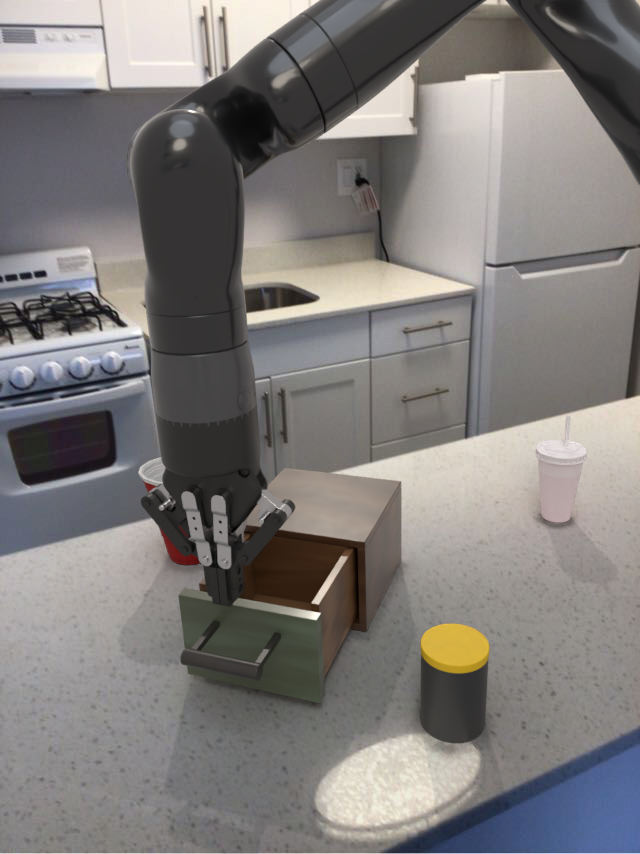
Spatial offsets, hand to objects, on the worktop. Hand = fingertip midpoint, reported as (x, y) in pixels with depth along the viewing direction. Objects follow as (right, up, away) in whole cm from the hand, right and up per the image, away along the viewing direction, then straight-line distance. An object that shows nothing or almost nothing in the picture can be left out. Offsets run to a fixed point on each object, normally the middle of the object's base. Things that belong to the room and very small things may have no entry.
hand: (226, 599), depth 62 cm
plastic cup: (-8, -2, +32) cm, 33 cm away
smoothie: (+39, +2, +38) cm, 54 cm away
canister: (+19, -11, +4) cm, 23 cm away
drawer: (+3, -8, +10) cm, 14 cm away
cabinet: (+8, -4, +25) cm, 26 cm away
